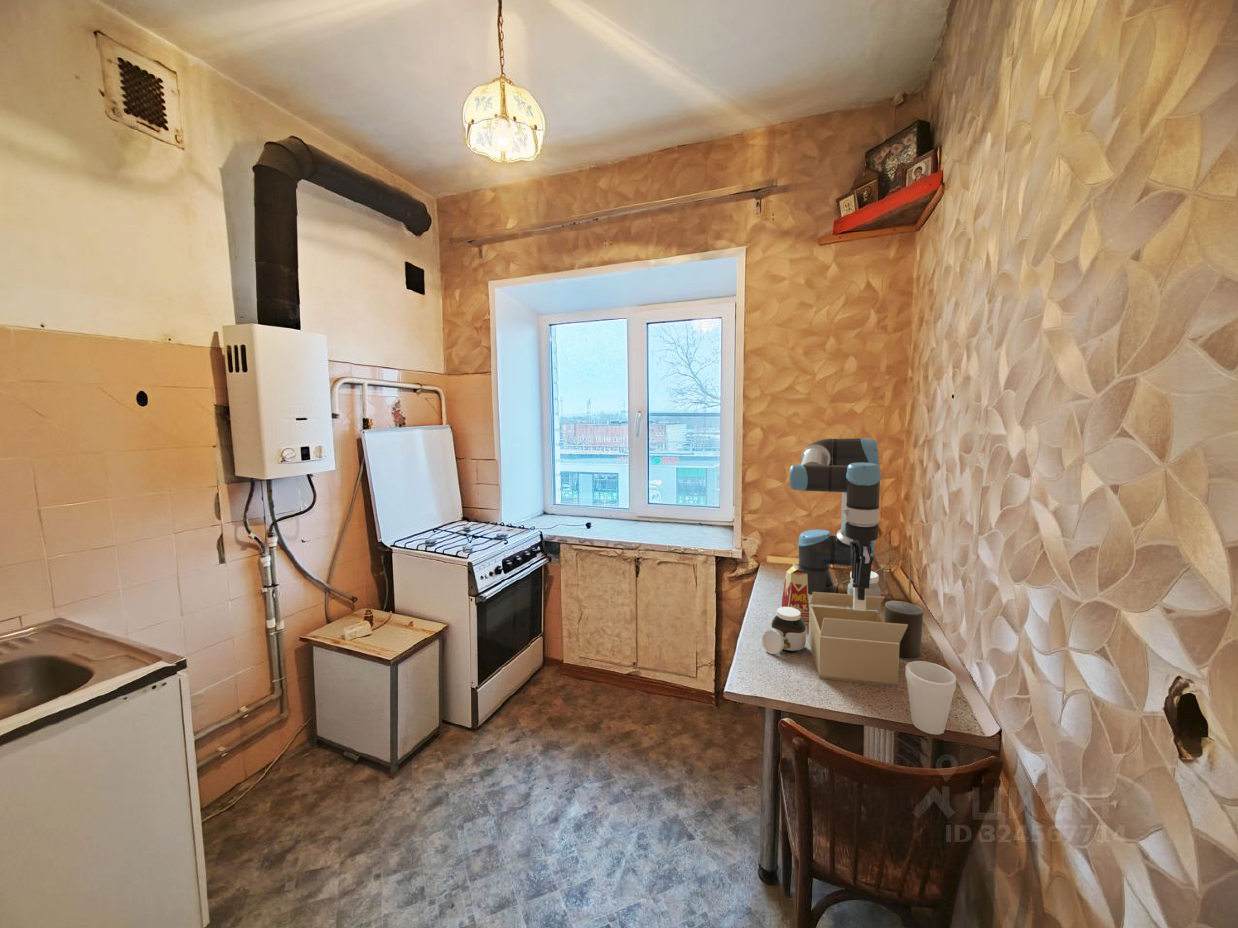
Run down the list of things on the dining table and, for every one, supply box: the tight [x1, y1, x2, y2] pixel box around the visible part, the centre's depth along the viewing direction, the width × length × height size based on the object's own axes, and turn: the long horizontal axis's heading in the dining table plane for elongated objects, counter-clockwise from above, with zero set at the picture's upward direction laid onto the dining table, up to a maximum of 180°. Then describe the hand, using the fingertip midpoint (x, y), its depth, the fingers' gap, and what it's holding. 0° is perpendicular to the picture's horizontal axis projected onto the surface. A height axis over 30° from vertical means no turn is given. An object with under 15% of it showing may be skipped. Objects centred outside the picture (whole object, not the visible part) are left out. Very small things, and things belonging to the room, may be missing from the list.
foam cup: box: [904, 660, 957, 735], centre depth 103 cm, size 10×9×13 cm
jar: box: [846, 570, 882, 615], centre depth 150 cm, size 10×10×18 cm
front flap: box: [820, 618, 908, 643], centre depth 116 cm, size 9×19×1 cm
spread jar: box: [761, 606, 807, 655], centre depth 137 cm, size 12×11×12 cm
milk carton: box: [780, 562, 810, 626], centre depth 156 cm, size 9×9×20 cm
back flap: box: [809, 592, 885, 609], centre depth 134 cm, size 9×19×1 cm
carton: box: [808, 604, 900, 688], centre depth 129 cm, size 20×19×12 cm
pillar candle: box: [883, 600, 924, 660], centre depth 134 cm, size 10×10×15 cm
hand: (859, 609), depth 119 cm, fingers closed
